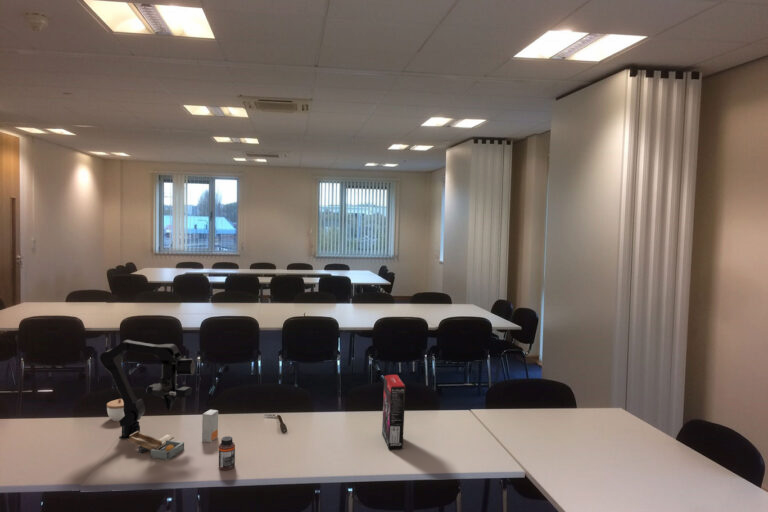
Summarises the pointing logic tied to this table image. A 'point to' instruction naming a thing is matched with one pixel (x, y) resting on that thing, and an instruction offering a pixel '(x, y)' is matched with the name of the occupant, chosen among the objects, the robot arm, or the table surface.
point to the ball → (169, 447)
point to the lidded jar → (116, 409)
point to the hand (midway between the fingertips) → (169, 409)
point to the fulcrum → (142, 449)
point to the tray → (168, 454)
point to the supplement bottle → (226, 453)
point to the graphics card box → (393, 411)
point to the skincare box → (210, 425)
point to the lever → (148, 440)
